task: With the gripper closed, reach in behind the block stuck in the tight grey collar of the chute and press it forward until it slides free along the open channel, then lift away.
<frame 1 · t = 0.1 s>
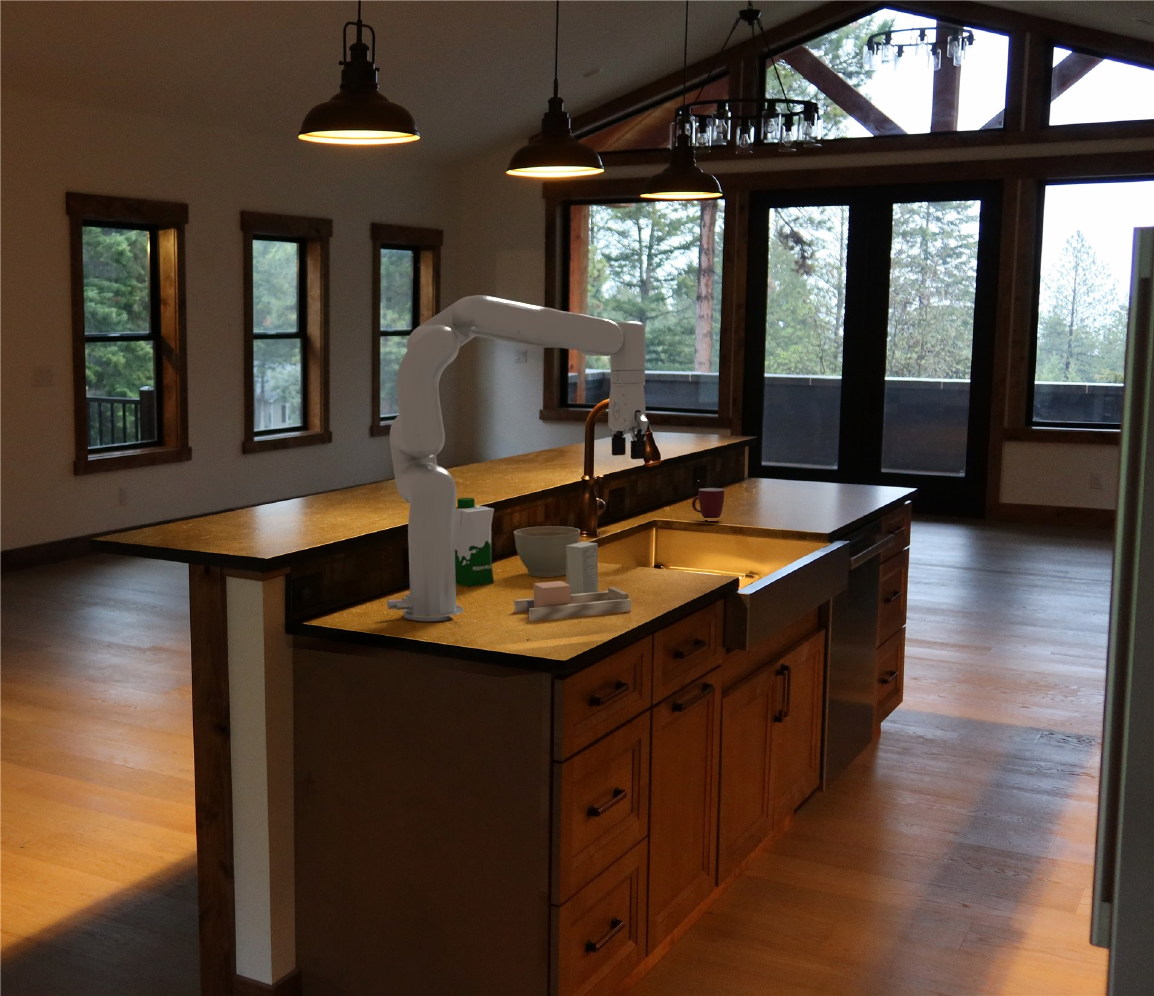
hand: (628, 457, 266), 31 cm above the countertop, tool pointing down, fingers open, 9 cm apart
skincare box: (582, 598, 269), on the countertop
mug: (707, 521, 382), on the countertop
chute: (572, 616, 251), on the countertop
milk carton: (473, 584, 286), on the countertop
block: (552, 598, 249), point 4 cm above the countertop, slide at 0.0 cm
planter bowl: (547, 575, 297), on the countertop
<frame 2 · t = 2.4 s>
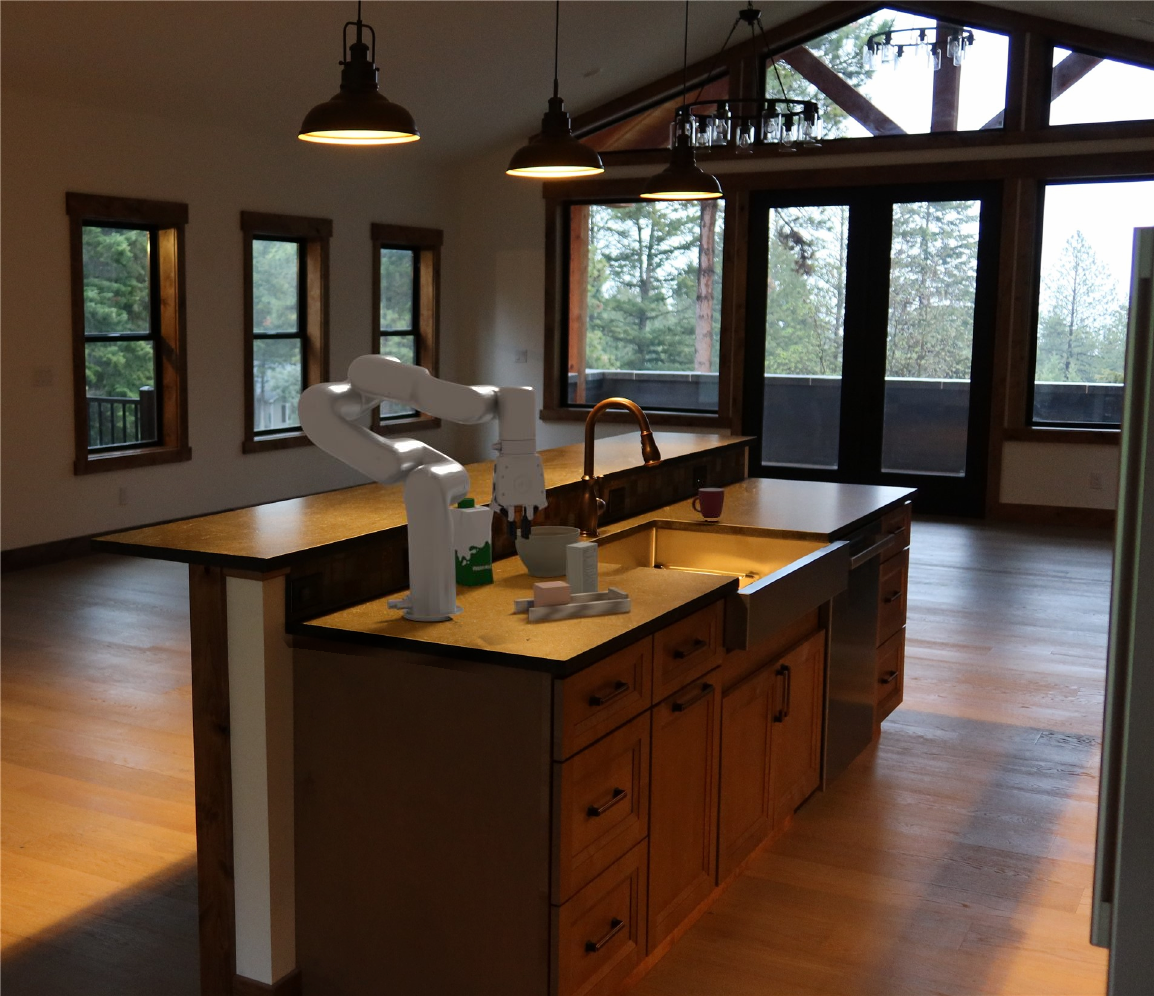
hand: (518, 538, 244), 17 cm above the countertop, tool pointing down, fingers closed
nothing on the countertop moved.
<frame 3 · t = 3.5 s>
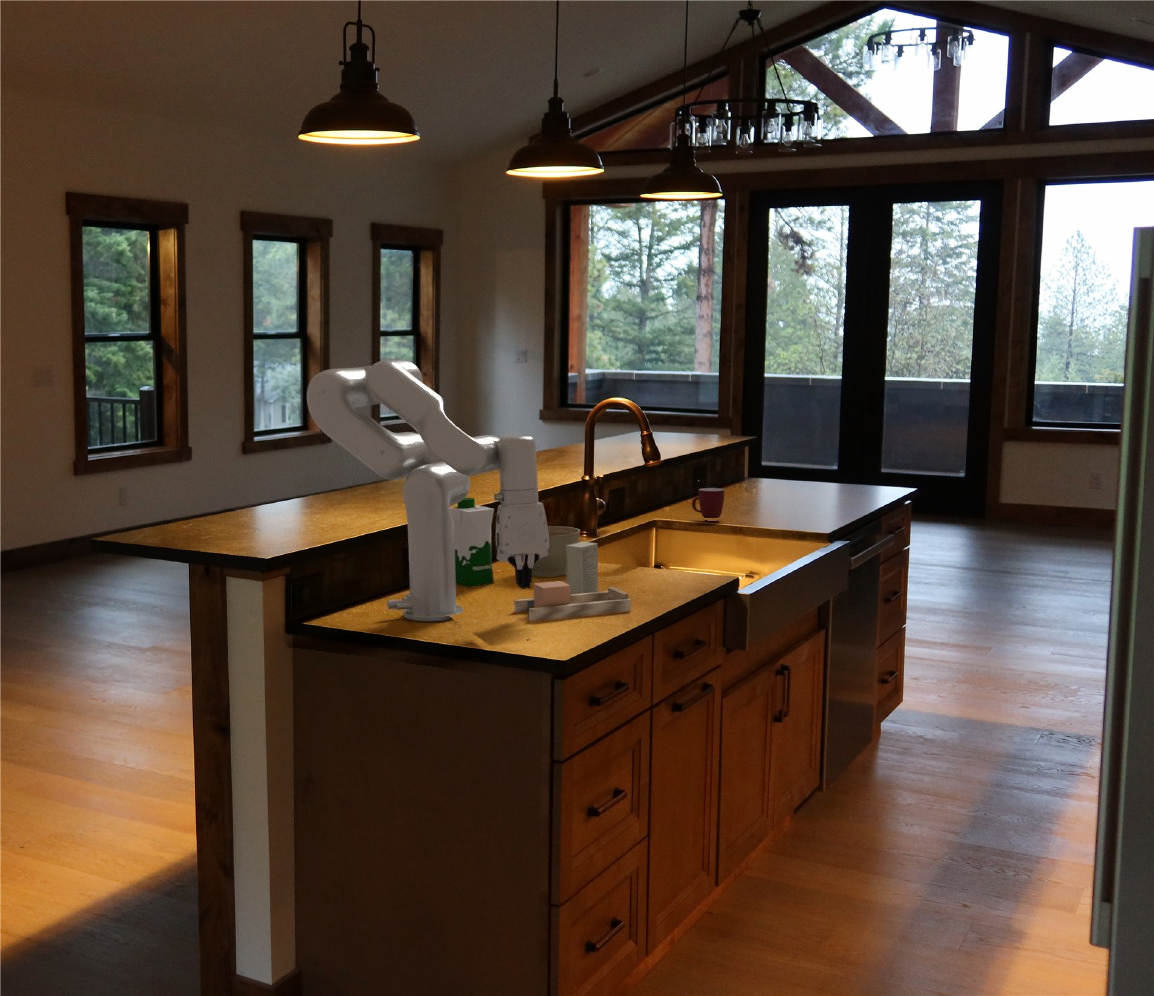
hand: (524, 587, 245), 7 cm above the countertop, tool pointing down, fingers closed
nothing on the countertop moved.
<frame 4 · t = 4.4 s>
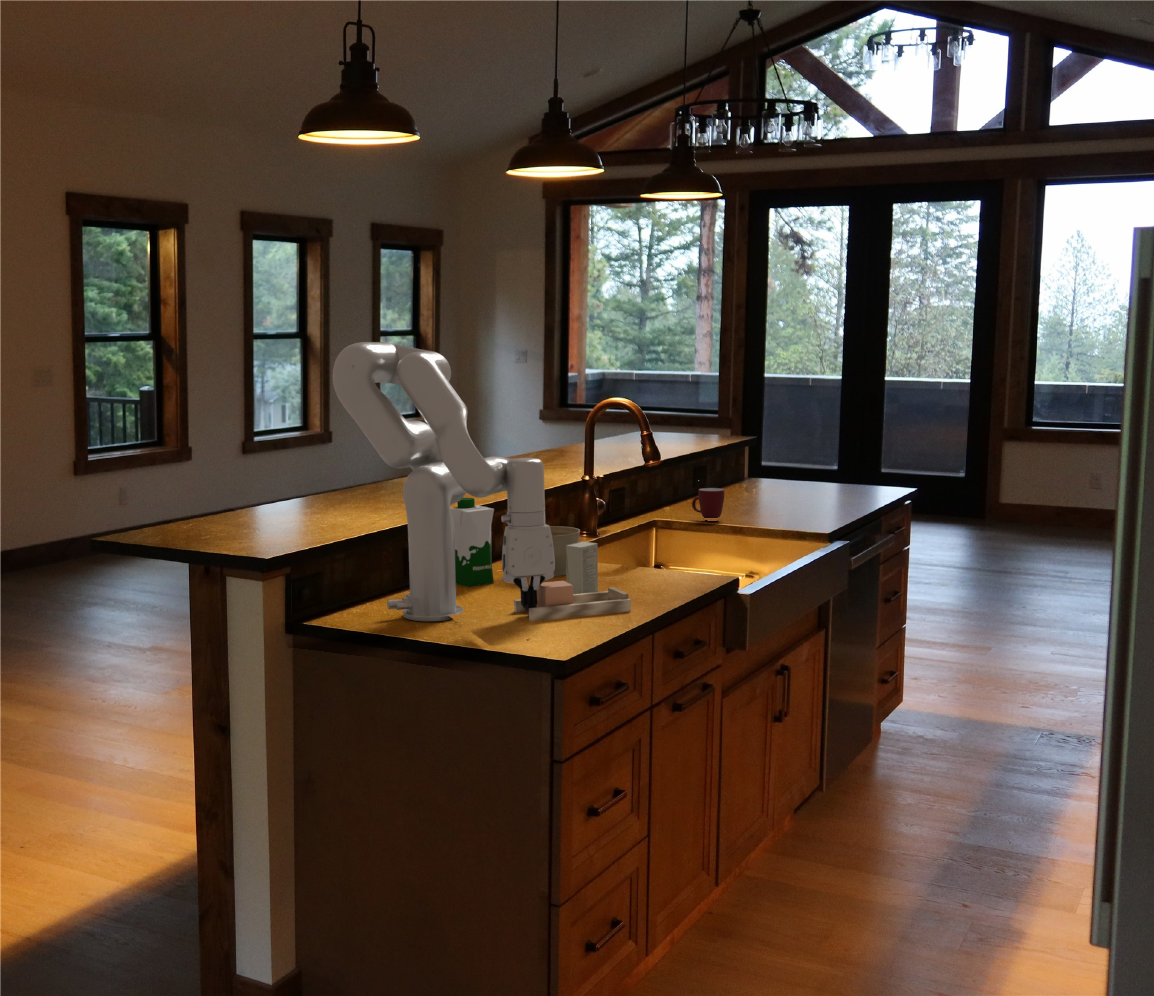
hand: (529, 608, 247), 3 cm above the countertop, tool pointing down, fingers closed
block: (554, 598, 249), point 4 cm above the countertop, slide at 0.6 cm, touching gripper
everything else where it was.
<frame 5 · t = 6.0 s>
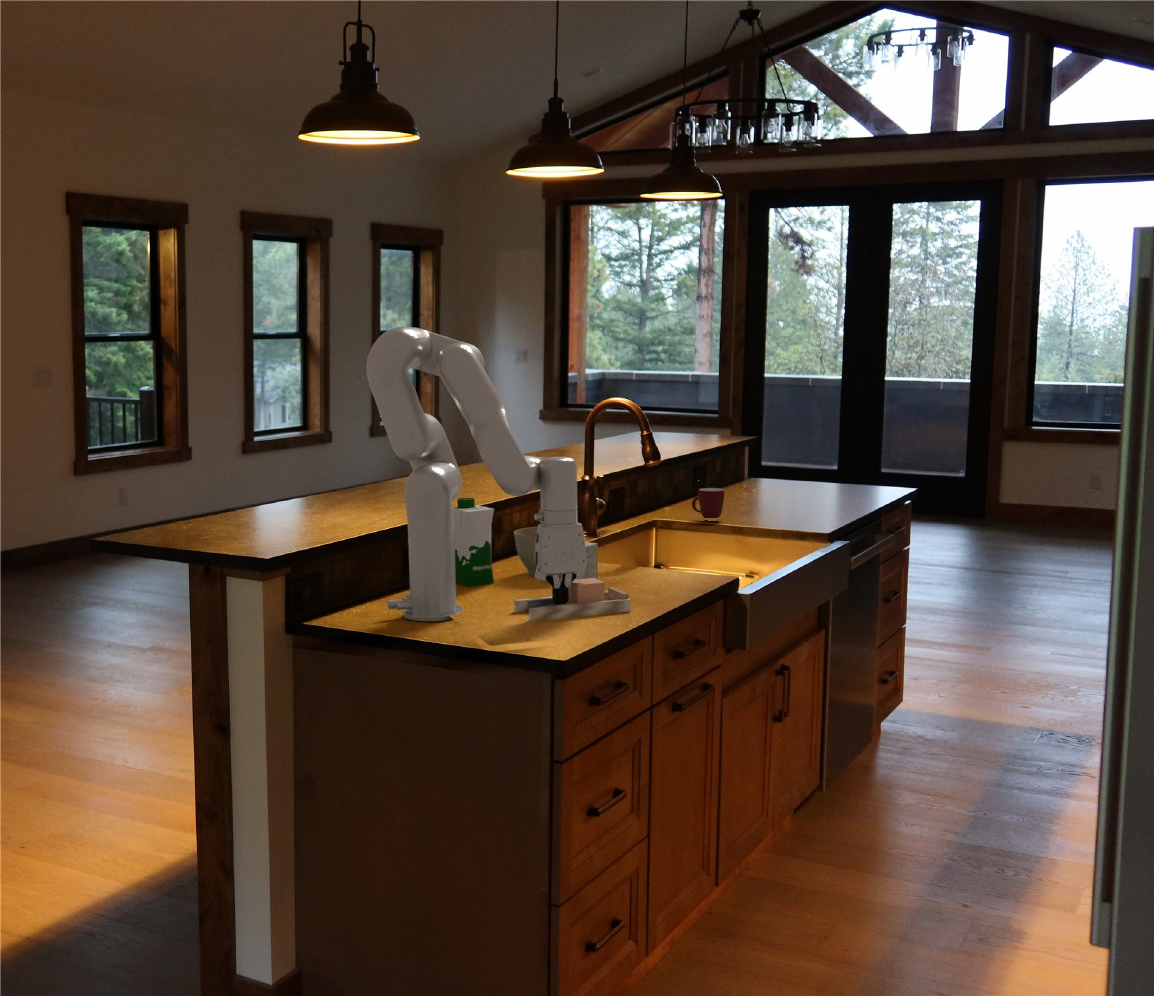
hand: (560, 605, 249), 3 cm above the countertop, tool pointing down, fingers closed
block: (586, 595, 251), point 4 cm above the countertop, slide at 7.6 cm, touching gripper
everything else where it was.
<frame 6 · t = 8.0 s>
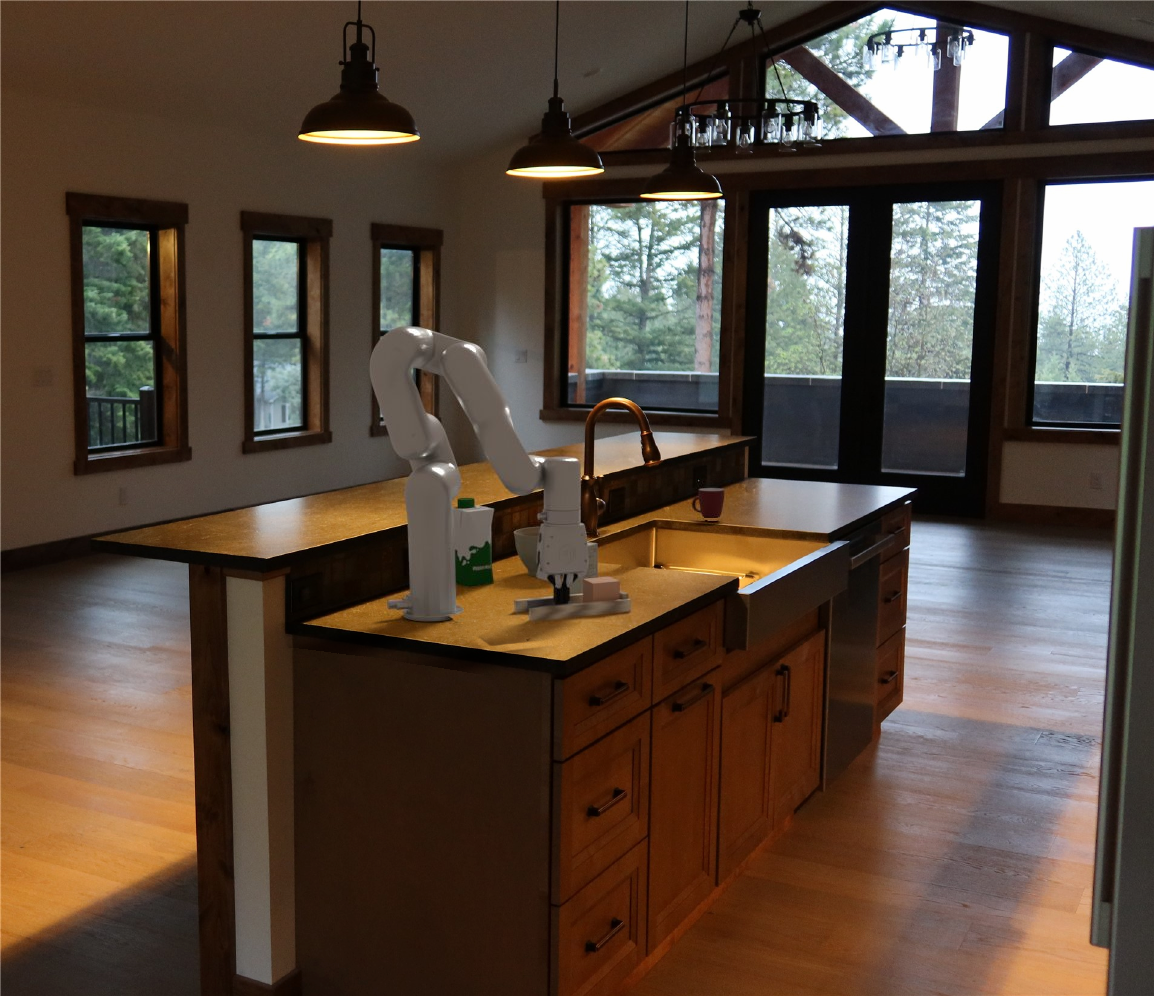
hand: (561, 605, 250), 2 cm above the countertop, tool pointing down, fingers closed
block: (601, 594, 253), point 4 cm above the countertop, slide at 11.0 cm
everything else where it was.
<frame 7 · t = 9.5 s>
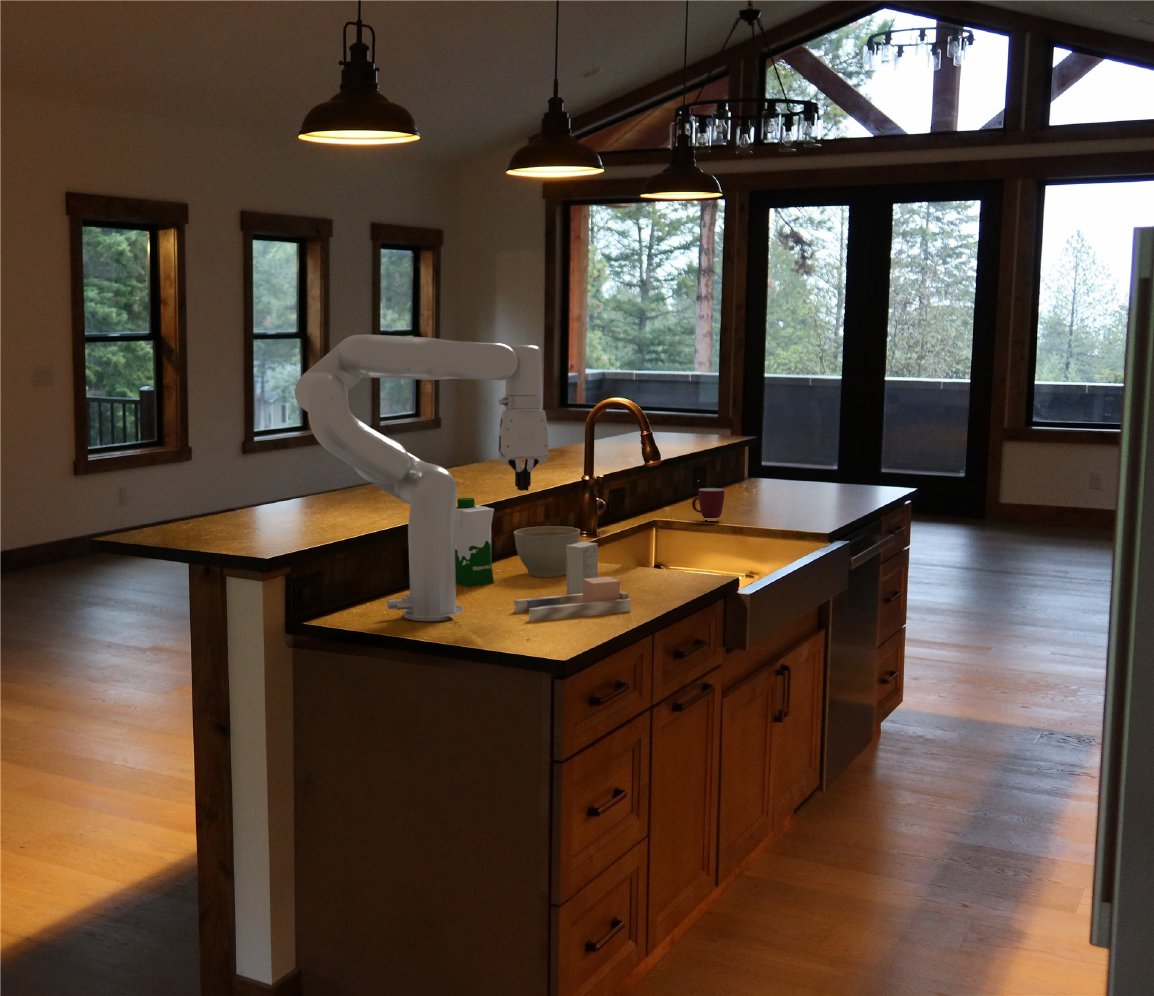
hand: (522, 489, 258), 25 cm above the countertop, tool pointing down, fingers closed
nothing on the countertop moved.
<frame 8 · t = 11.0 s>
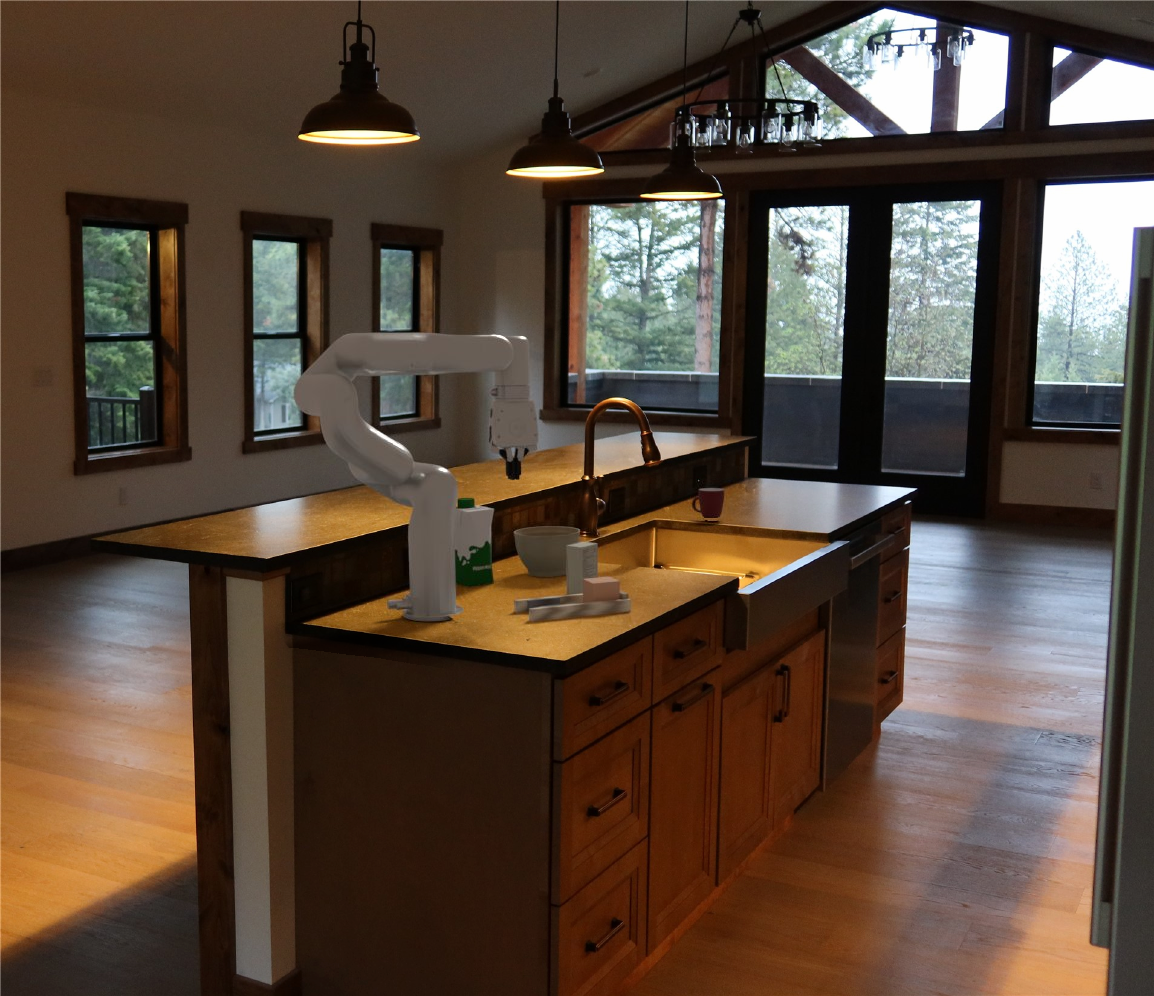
hand: (513, 479, 262), 27 cm above the countertop, tool pointing down, fingers closed
nothing on the countertop moved.
at the end: block slide at 11.0 cm; block touching nothing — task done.
